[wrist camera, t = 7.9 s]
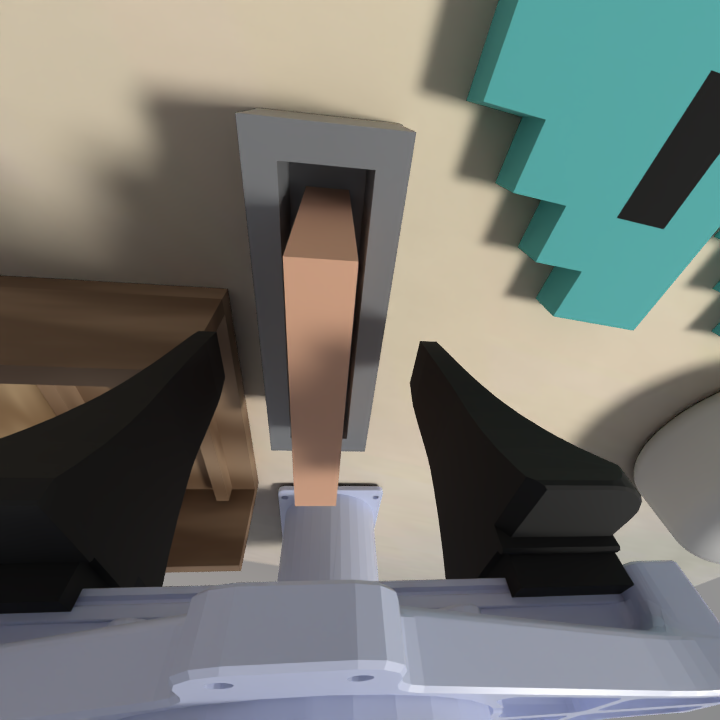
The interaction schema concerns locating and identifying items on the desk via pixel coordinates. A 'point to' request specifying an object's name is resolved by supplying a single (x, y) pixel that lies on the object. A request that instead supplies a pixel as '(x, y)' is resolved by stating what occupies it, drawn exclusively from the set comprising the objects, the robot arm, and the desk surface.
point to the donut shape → (686, 477)
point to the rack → (127, 358)
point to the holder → (275, 222)
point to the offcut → (22, 408)
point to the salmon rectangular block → (319, 337)
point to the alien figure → (609, 143)
